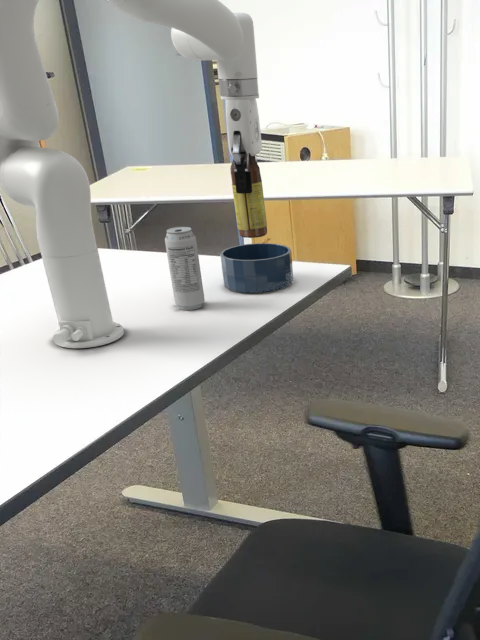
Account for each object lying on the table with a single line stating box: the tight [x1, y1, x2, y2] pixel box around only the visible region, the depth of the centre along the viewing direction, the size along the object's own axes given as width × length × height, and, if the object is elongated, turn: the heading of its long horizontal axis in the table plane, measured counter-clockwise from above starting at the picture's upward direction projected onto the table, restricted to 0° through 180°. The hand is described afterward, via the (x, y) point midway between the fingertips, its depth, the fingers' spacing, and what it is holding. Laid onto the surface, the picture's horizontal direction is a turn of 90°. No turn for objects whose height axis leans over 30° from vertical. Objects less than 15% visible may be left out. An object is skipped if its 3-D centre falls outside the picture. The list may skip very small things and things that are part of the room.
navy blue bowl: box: [219, 242, 294, 294], centre depth 167 cm, size 15×15×7 cm
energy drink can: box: [164, 226, 206, 311], centre depth 153 cm, size 6×6×15 cm
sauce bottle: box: [229, 152, 268, 239], centre depth 158 cm, size 6×6×20 cm
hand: (248, 189), depth 158 cm, fingers closed on sauce bottle, 6 cm apart
